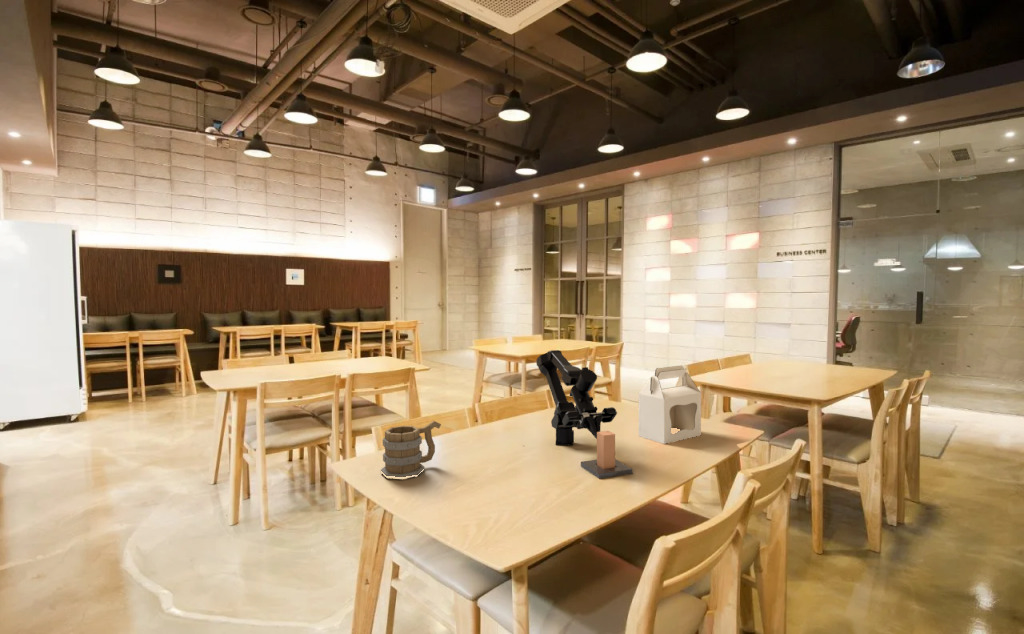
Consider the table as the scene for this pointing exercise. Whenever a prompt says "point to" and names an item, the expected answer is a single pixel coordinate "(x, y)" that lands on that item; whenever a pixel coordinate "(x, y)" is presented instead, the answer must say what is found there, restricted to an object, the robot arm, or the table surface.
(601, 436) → the block
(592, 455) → the table surface
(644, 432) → the gable box
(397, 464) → the tankard
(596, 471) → the plate
